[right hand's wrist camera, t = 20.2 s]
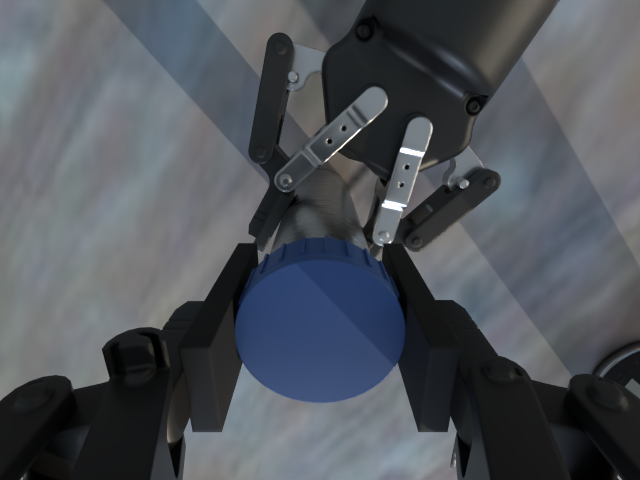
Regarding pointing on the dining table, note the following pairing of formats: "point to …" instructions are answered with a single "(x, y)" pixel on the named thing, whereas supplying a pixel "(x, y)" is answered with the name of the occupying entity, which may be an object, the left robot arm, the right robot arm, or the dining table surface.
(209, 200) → the dining table surface
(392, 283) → the lid
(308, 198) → the jar
